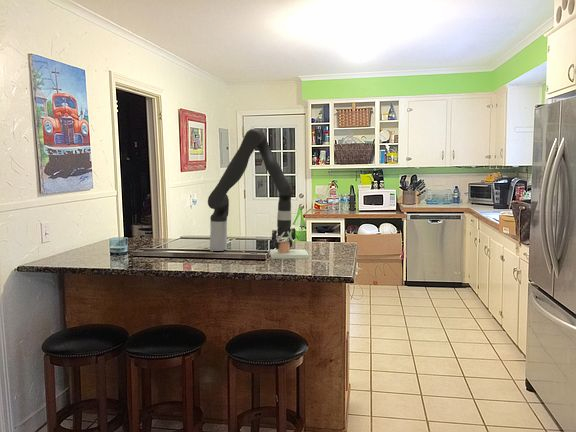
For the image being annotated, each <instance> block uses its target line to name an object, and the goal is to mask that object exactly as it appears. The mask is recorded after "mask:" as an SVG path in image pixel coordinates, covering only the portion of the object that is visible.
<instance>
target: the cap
mask: <svg viewBox="0 0 576 432" xmlns="http://www.w3.org/2000/svg"><path fill="white" fill-rule="evenodd" d="M277 250H278V252H279V253H289V252H290V250H291V248H290V242H288V240H286V241H285V240H281V241H280V240H279V249H277Z"/></svg>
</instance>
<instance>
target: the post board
mask: <svg viewBox="0 0 576 432" xmlns="http://www.w3.org/2000/svg"><path fill="white" fill-rule="evenodd" d="M269 254H270V258H271V259H272V260H273V259H274V260H275V259H278V260H279V259H281V260H282V259H285V260H286V259H287V260H289V259H303V260H304V259H306V260H308V259H310V258H309V257H310V255H309V253H308V251H307V250H306V249H290V252H289V253H279V252H278V249H269Z"/></svg>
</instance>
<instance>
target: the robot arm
mask: <svg viewBox="0 0 576 432" xmlns="http://www.w3.org/2000/svg"><path fill="white" fill-rule="evenodd" d="M239 145H240V146H239V147H238V150H237V151H236V152H235V154H234V155H233V158H231V161H230V162H229V164H228V165H227V167H226V169H225V171H224V173H223V174H222V176H221V178H220V180H219V182H218V183H217V184H216V186H215V188H214V189H213V190H212V191H211V192H210V194H209V196H208V198H207V205H208V207H209V208H210V209H212V210H214V211H213V213H212V214H211V215H210V220H209V222H210V227H209V228H210V234H209V251H210V252H213V251H223V250H228V249H227V248H228V246H227V245H228V243H227V242H228V240H227V238H228V228H227V227H228V216H229V211H230V210H229V207H230V199H229V196H228V195H227V193H228V192H229V190H231V188H232V187H234V186H235V185H236V184H237V183H238V182H239V181H240V180H241V178H242V177H243V175H244V173H245V171H246V170H247V167H248V164H249V160H250V157H251V156H252V154H253V153H254V151H255V149H257V150H258V152H259V154H260V156H261V158H262V161H263V163H264V164H263V165H264V167H265V169H266V171H267V172H268V175H269V176H270V178H271V179H272V181H273V184H274V185H275V187H276V189H277V192H278V204H277V216H276V217H277V223H276V227H277V229H272V231H271V241H272V242H274V248H275V250H278V249H279V241H280V240H281V239H282V238H283V239H284V238H287V241H288V242H290V249H291V248H292V247H293V240H296V239H297V237H296V236H297V235H296V228H293V227H292V201H291V200H292V191H293V187H292V184H291V183H290V182H288V180H287V178H286V177H285V174H284V171H283V169H282V168H281V166H280V164H279V162H278V161H277V159H276V157H275V156H274V153H273V152H272V149H271V147H270V145H269V142H268V140H267V137H266V134H265V132H264V131H263V130H262V129H261V128H250V129H249V130H247V131H246V133H245V135H244V136H243V139H242V140H241V143H240V144H239Z"/></svg>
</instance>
